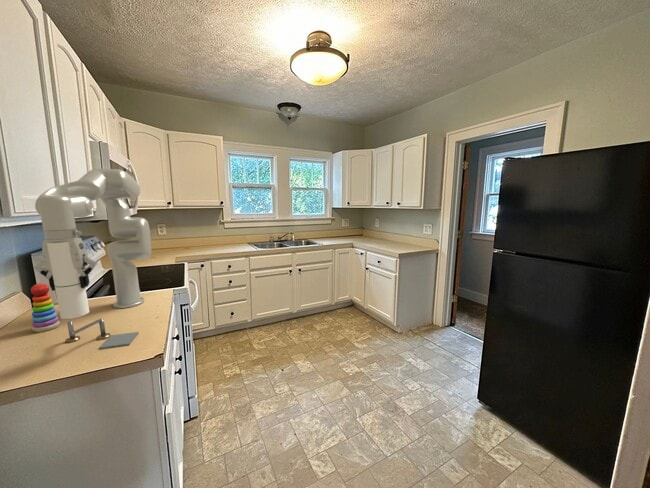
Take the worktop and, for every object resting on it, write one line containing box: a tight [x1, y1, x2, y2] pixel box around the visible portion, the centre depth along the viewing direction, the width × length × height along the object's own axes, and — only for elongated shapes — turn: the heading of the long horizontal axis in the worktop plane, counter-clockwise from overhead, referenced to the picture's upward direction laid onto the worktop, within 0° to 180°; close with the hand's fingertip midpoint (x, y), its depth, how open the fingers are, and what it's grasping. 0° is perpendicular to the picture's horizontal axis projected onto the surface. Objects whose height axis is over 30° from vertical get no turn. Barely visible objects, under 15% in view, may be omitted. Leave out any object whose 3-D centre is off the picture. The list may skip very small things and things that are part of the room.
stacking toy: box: [30, 282, 61, 333], centre depth 108 cm, size 8×8×19 cm
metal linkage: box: [65, 318, 112, 344], centre depth 96 cm, size 14×14×8 cm
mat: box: [98, 331, 140, 350], centre depth 99 cm, size 9×9×1 cm
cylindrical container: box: [47, 242, 90, 320], centre depth 89 cm, size 7×7×25 cm
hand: (70, 287), depth 89 cm, fingers closed on cylindrical container, 7 cm apart
